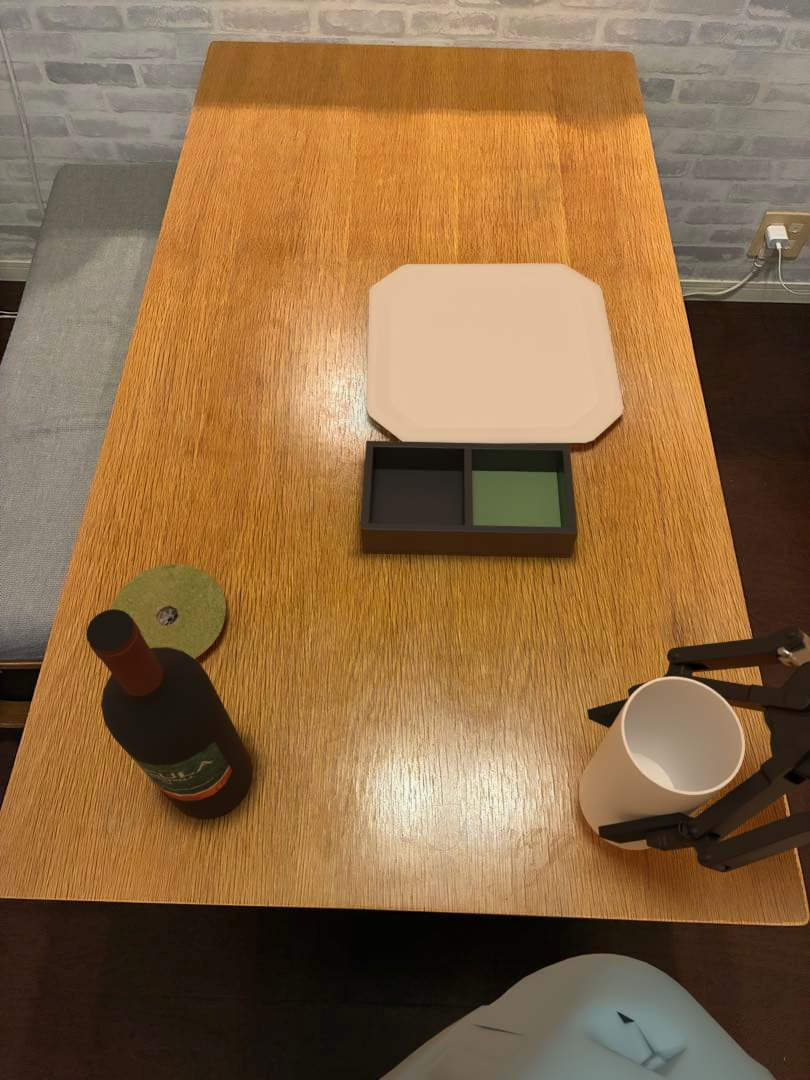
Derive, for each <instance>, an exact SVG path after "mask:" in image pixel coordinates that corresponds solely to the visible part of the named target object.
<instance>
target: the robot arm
mask: <svg viewBox="0 0 810 1080" xmlns="http://www.w3.org/2000/svg"><path fill="white" fill-rule="evenodd" d="M666 659H667V661H668V662H669V663H668V668H667V671H666V673H665V674H664V675H663V676H661V677H660V678H662V677H683V678H688V679H692V680H695V681H698V682H700V683H702V684H704V685H706V686H708V687H710V688H711V689H713V690H714V691H716V692H717V693H718V694H719V695H721V696H722V697H723V698H724V699H725V700H726V701H727V702H728V704H729V705H730V706H731V707H734V708H740V709H745V710H750V711H756V712H760V713H763V714H762V715H763V718H764V722H765V724H766V727H767V728H768V730H769V735H770V736H769V748H770V753H771V756H770V757H769V758H767V759H766V760H765V761H763V762H762V763H761V764H760V766H759V769H758V770H757V771H756V772H755V773H753V774H751V775H750V776H749V777H747V778H746V779H745V780H744V781H742V782H741V783H740V784H738V785H737V786H736V787H734V788H733V789H731V790H730V791H729V792H727V793H726V794H724V795H723V796H722V797H721V798H719V799H718V800H716V801H715V802H714V803H712V804H711V805H710V806H708V807H706V809H704V810H703V811H701V812H700V813H699V814H697V815H696V816H695V817H692V816H691V817H690V816H688V815H685V814H683V813H680V812H677V813H672V814H665V815H659V816H654V817H648V818H643V819H637V820H631V821H626V822H620V823H615V824H609V825H604V826H598V830H599V835H598V838H601V839H603V840H604V839H607V840H610V841H613V842H616V843H619V844H622V843H628V842H634V841H640V840H646V843H647V846H648V847H650V848H652V849H655V850H658V851H661V852H671V851H676V850H683V849H689V848H693V849H694V851H695V853H696V861H697V862H698V864H699V865H700V866H701V867H704V868H707V869H709V870H713V871H715V872H719V873H722V874H723V873H724V874H725V873H728V872H732V871H734V870H737V869H740V868H742V867H743V868H744V867H745V866H748V865H751V864H755V863H757V862H760V861H763V860H766V859H769V858H771V857H774V856H777V855H780V854H783V853H785V852H786V853H787V852H788V851H791V850H794V849H796V848H799V847H803V846H805V845H809V844H810V810H806V811H801V812H800V811H799V812H796V813H794V814H790V815H787V816H784V817H782V818H780V819H777V820H774V821H772V822H769V823H766V824H763V825H761V826H758V827H755V828H752V829H750V830H748V831H744V832H742V833H739V834H737V835H733V836H731V837H729V838H726V837H728V836H729V835H730V834H732V833H733V832H735V831H736V830H737V829H739V828H741V826H743V825H744V824H745V823H747V822H749V821H750V820H752V819H753V818H754V817H756V816H757V815H759V814H760V813H761V812H762V811H764V810H766V809H767V808H768V807H770V806H771V805H773V804H774V803H775V802H776V801H778V800H780V799H781V798H782V797H784V796H785V795H787V794H790V793H791V794H792V793H794V792H796V791H798V790H799V789H801V788H802V787H804V786H805V785H806V784H808V783H809V782H810V636H809V635H807V634H806V633H805V632H804V631H802V630H801V629H800V628H799V627H797V626H795V625H788V626H785V627H783V628H781V629H779V630H777V631H775V632H772V633H770V634H768V635H766V636H762V637H754V638H745V639H737V640H728V641H720V642H712V643H711V642H710V643H703V644H695V645H685V646H676V647H672V648H670V649H669V650H668V651H667V653H666ZM782 664H784V665H786V666H788V667H796V666H797V668H796V669H795V670H794V671H793V673H792V674H791V675H790V676H789V677H788V678H787V679H786V681H785V682H784V683H783V684H782V685H781V686H780V687H779V688H778V687H773V686H767V685H766V686H765V685H761V684H760V685H759V684H753V683H752V684H744V683H738V682H733V681H727V680H726V681H725V680H721V679H715V678H709V677H708V678H707V677H702V676H697V675H693V674H694V673H702V672H713V671H723V670H735V669H746V668H756V667H768V666H776V665H782ZM652 680H653V679H652ZM652 680H648V681H646V682H641V683H638V684H634V685H632V686H631V687H629V688H628V689H627V693H628V697H627V698H625V699H624V698H623V699H621V700H617V701H613V702H610V703H606V704H603V705H599V706H595V707H592V708H588V709H587V719H588V720H589V721H592V722H594V723H596V724H598V725H600V726H603V727H604V728H605V727H606V728H607V729H610V728H611V726H612V724H613V723H614V721H615V719H616V718H617V716H618V715H619V713H620V711H621V710H622V708H623V706H624V705H625V703H626V702H627V700H628V699H629V697H630V696H631V695H632V694H633V693H634V692H635V691H636V690H637V689H638V688H639V687H641V686H642V685H644V684H645V683H647V682H649V681H652ZM725 838H726V839H725ZM378 1080H777V1079H776V1078H775V1077H774V1075H773V1074H772V1072H770V1071H769V1069H768V1068H766V1066H764V1065H762V1064H761V1063H760V1062H758V1061H757V1060H756V1059H754V1058H753V1057H751V1056H750V1055H749V1054H748V1053H747V1052H746V1051H745V1050H744V1049H743V1048H742V1047H741V1046H740V1045H739V1043H737V1042H736V1041H735V1039H733V1038H732V1037H731V1035H730V1034H729V1033H728V1032H727V1031H726V1030H725V1029H724V1028H723V1027H722V1026H721V1025H720V1024H719V1023H718V1022H717V1021H716V1020H715V1019H714V1017H712V1015H711V1014H709V1012H708V1011H707V1010H706V1009H705V1008H704V1007H703V1006H702V1005H701V1004H700V1003H699V1001H697V1000H696V999H695V998H694V997H693V996H692V995H691V993H690V992H689V991H688V990H687V989H686V988H685V987H683V986H682V984H680V983H678V981H676V980H675V979H674V978H673V977H671V976H669V975H668V974H667V973H665V972H664V971H662V970H660V969H659V968H657V967H655V966H653V965H651V964H649V963H647V962H645V961H642V960H640V959H636V958H634V957H630V956H626V955H622V954H621V955H620V954H617V953H616V954H615V953H590V954H582V955H577V956H574V957H569V958H566V959H564V960H562V961H559V962H556V963H554V964H550V965H548V966H545V967H543V968H541V969H538V970H537V971H535V972H532V973H530V974H529V975H527V976H524V977H523V978H522V979H520V980H519V981H518V982H516V983H515V984H513V986H511V987H510V988H508V989H507V991H506V992H504V993H503V994H502V995H501V996H500V997H499V998H498V999H496V1000H495V1001H493V1002H492V1003H490V1004H488V1005H481V1006H479V1007H477V1008H475V1009H473V1010H472V1011H469V1012H468V1013H466V1014H464V1015H462V1016H460V1017H459V1018H457V1019H456V1020H455V1021H454V1022H452V1023H451V1024H450V1025H448V1026H447V1027H446V1028H444V1029H443V1030H441V1031H439V1033H437V1034H436V1035H434V1036H433V1037H432V1038H430V1039H429V1040H427V1041H426V1042H425V1043H423V1044H422V1045H421V1046H419V1047H418V1048H417V1049H415V1050H414V1051H412V1052H411V1053H409V1055H407V1056H406V1057H405V1058H404V1059H403V1060H402V1061H400V1063H398V1064H397V1065H396V1066H394V1067H393V1069H391V1070H390V1071H388V1072H387V1073H386V1074H385V1075H383V1076H382V1077H380V1078H379V1079H378Z"/></svg>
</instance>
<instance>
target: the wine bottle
mask: <svg viewBox="0 0 810 1080" xmlns="http://www.w3.org/2000/svg"><path fill="white" fill-rule="evenodd" d="M85 635H86V640H87V642H88V644H89V647H90V648H91V650H92V652H94V654H95V655H96V657H97V658H98V659H99V660H101V661H102V662H103V664H104V665H105V666H106V668H107V669H108V670H109V672H110V673H111V674H110V675H109V677H108V680H107V681H106V684H105V685H104V688H103V691H102V696H101V704H100V706H101V712H102V717H103V721H104V724H105V726H106V728H107V729H108V731H109V733H110V735H111V736H112V738H113V739H114V741H116V742H117V743H118V744H119V746H120V747H121V748H122V749H123V750H124V751H125V752H126V753H127V754H128V756H129V757H130V758H131V759H132V760H133V761H134V762H135V764H137V766H138V767H139V768H140V769H141V770H142V771H143V772H144V774H145V775H147V777H148V778H149V779H150V780H151V781H152V782H153V783H154V784H155V785H156V786H157V788H158V789H159V790H160V791H161V792H162V793H163V795H164V796H166V798H167V799H168V800H169V801H170V802H171V803H172V804H173V806H174V807H175V808H176V809H177V810H179V811H180V812H182V813H183V814H184V815H186V816H187V817H190V818H193V819H197V820H201V821H202V820H215V819H218V818H220V817H221V818H222V817H224V816H226V815H228V814H229V813H231V812H232V811H233V810H235V809H237V808H238V807H239V806H240V804H241V803H242V802H243V800H244V799H245V798H246V797H247V795H248V794H249V791H250V789H251V788H250V787H251V785H252V782H253V771H254V768H253V764H252V760H251V756H250V755H249V752H248V750H247V749H246V746H245V744H244V743H243V741H242V739H241V737H240V735H239V733H238V731H237V729H236V727H235V725H234V723H233V721H232V719H231V716H230V715H229V713H228V711H227V709H226V707H225V706H224V703H223V702H222V699H221V697H220V696H219V694H218V692H217V689H216V688H215V686H214V684H213V682H212V680H211V677H210V676H209V674H208V673H207V671H206V670H205V669H204V667H203V666H202V664H201V663H200V662H199V661H198V660H197V659H196V658H195V659H194V658H193V657H191V656H190V655H188V654H187V653H185V652H184V651H181V650H177V649H173V648H170V647H159V648H149V646H148V644H147V643H146V641H145V640H144V638H143V636H142V635H141V631H140V629H139V628H138V626H137V624H136V623H135V621H134V620H133V618H131V617H130V616H129V615H128V614H127V613H126V612H124V611H121V610H118V609H112V610H110V609H107V610H104V611H101V612H99V613H98V614H96V615H95V616H94V617H93V618H92V619H91V621H89V623H88V626H87V629H86V634H85Z"/></svg>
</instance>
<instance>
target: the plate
mask: <svg viewBox="0 0 810 1080" xmlns="http://www.w3.org/2000/svg"><path fill="white" fill-rule="evenodd" d="M606 309H607V308H606V303H605V298H604V293H603V289H602V288H601V286H600V285H599V284H598V283H596V282H595V281H593V280H592V279H590V278H588V277H586V276H585V275H583V274H582V273H580V272H578V271H577V270H575V269H573V268H572V267H570V266H568V265H566V264H564V263H560V262H533V263H531V262H530V263H529V262H527V263H526V262H525V263H524V262H523V263H521V262H520V263H517V262H516V263H510V262H509V263H407V264H403V265H400V266H399V267H397V268H396V269H395V270H393V271H392V272H390V273H389V274H387V275H386V276H385V277H383V278H381V279H380V280H379V281H377V282H376V283H374V284H373V285H371V287H370V288H369V291H368V321H367V325H368V326H367V364H366V365H367V366H366V369H367V370H366V372H367V373H366V409H365V411H366V413H367V415H368V417H369V418H370V419H371V420H372V421H374V422H375V423H376V424H377V425H379V427H381V428H383V429H384V430H385V431H386V432H387V433H389V434H390V435H392V436H393V437H394V438H396V439H397V441H405V442H454V443H503V444H553V445H570V446H571V445H572V446H573V445H575V446H576V445H587V444H590V443H593V442H595V440H597V439H598V438H599V437H600V436H601V435H602V434H604V432H605V431H606V430H607V429H608V428H610V427H611V426H612V425H613V424H614V423H615V422H616V421H617V420H619V419H620V418H621V417H622V416H623V413H624V410H625V408H624V401H623V396H622V390H621V386H620V380H619V373H618V368H617V363H616V357H615V352H614V348H613V342H612V335H611V331H610V326H609V320H608V314H607V310H606Z"/></svg>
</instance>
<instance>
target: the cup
mask: <svg viewBox="0 0 810 1080" xmlns="http://www.w3.org/2000/svg"><path fill="white" fill-rule="evenodd" d="M661 677H662V678H661ZM661 677H658V678H655V679H652V681H651V680H648V681H649V682H648V681H646V682H647V683H645V682H644V683H645V684H644V685H642V686H641V687H639V688H638V689H637V690H636V691H635V692H634V693H633V694H632V695H631V696H630V697H629V696H628V698H629V699H628V700H627V702H626V703H625V705H624V706H623V708H622V710H621V711H620V713H619V715H618V716H617V718H616V719H615V721H614V723H613V724H612V726H611V727H609V728H608V731H607V732H606V734H605V735H604V737H603V739H602V741H601V742H600V744H599V746H598V747H597V749H596V751H595V752H594V754H593V756H591V757H592V758H591V759H590V761H589V762H588V764H587V765H586V767H585V769H584V771H583V773H582V774H581V777H580V781H579V785H578V800H579V805H580V809H581V812H582V814H583V817H584V819H585V820H586V822H587V824H588V825H589V826H590V828H591V829H592V830H593V831H594V832H595V833H596V834H597V835H598V836H599V830H598V826H604V825H609V824H615V823H620V822H626V821H631V820H637V819H643V818H648V817H654V816H659V815H665V814H672V813H677V812H680V813H683V814H685V815H688V816H690V817H692V816H693V815H695V814H696V813H697V812H698V811H699V810H700V809H702V808H703V807H704V806H705V805H706V804H707V803H709V802H710V800H712V799H713V798H714V797H715V796H717V794H718V793H720V792H721V791H722V790H723V789H724V788H726V786H727V785H729V784H730V783H731V782H732V781H733V779H734V778H735V777H736V775H737V773H738V772H739V771H740V768H741V766H742V764H743V761H744V757H745V753H746V752H745V751H746V740H745V733H744V730H743V727H742V724H741V721H740V719H739V717H738V715H737V713H736V712H735V709H733V706H730V705H729V704H728V702H727V701H726V700H725V699H724V698H723V697H722V696H721V695H719V694H718V693H717V692H716V691H714V690H713V689H711V688H710V687H708V686H706V685H704V684H702V683H700V682H698V681H695V680H692V679H688V678H683V677H663V676H661ZM603 840H604V841H606V842H607V843H609V844H612V845H613V846H615V847H618V848H621V849H625V850H630V851H641V850H646V849H647V850H648V849H650V848H651V847H648V846H647V843H646V840H640V841H634V842H628V843H622V844H619V843H616V842H613V841H610V840H607V839H603Z"/></svg>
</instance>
